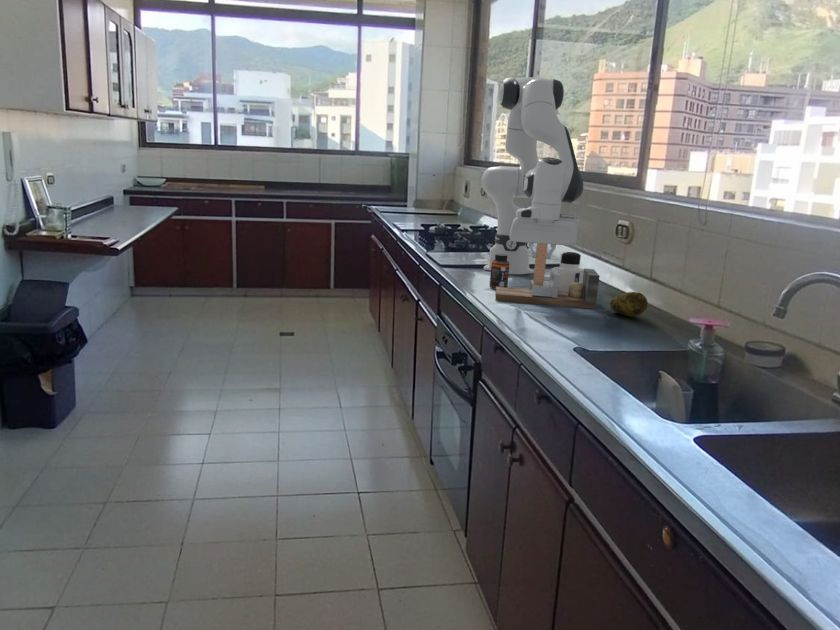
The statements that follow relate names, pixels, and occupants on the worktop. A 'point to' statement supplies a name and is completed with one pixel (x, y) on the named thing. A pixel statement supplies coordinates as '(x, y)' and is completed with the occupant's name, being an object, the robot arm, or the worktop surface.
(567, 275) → the container
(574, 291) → the beige rounded cylinder
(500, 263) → the supplement bottle
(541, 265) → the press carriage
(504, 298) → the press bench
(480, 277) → the worktop surface
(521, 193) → the robot arm
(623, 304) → the potato
